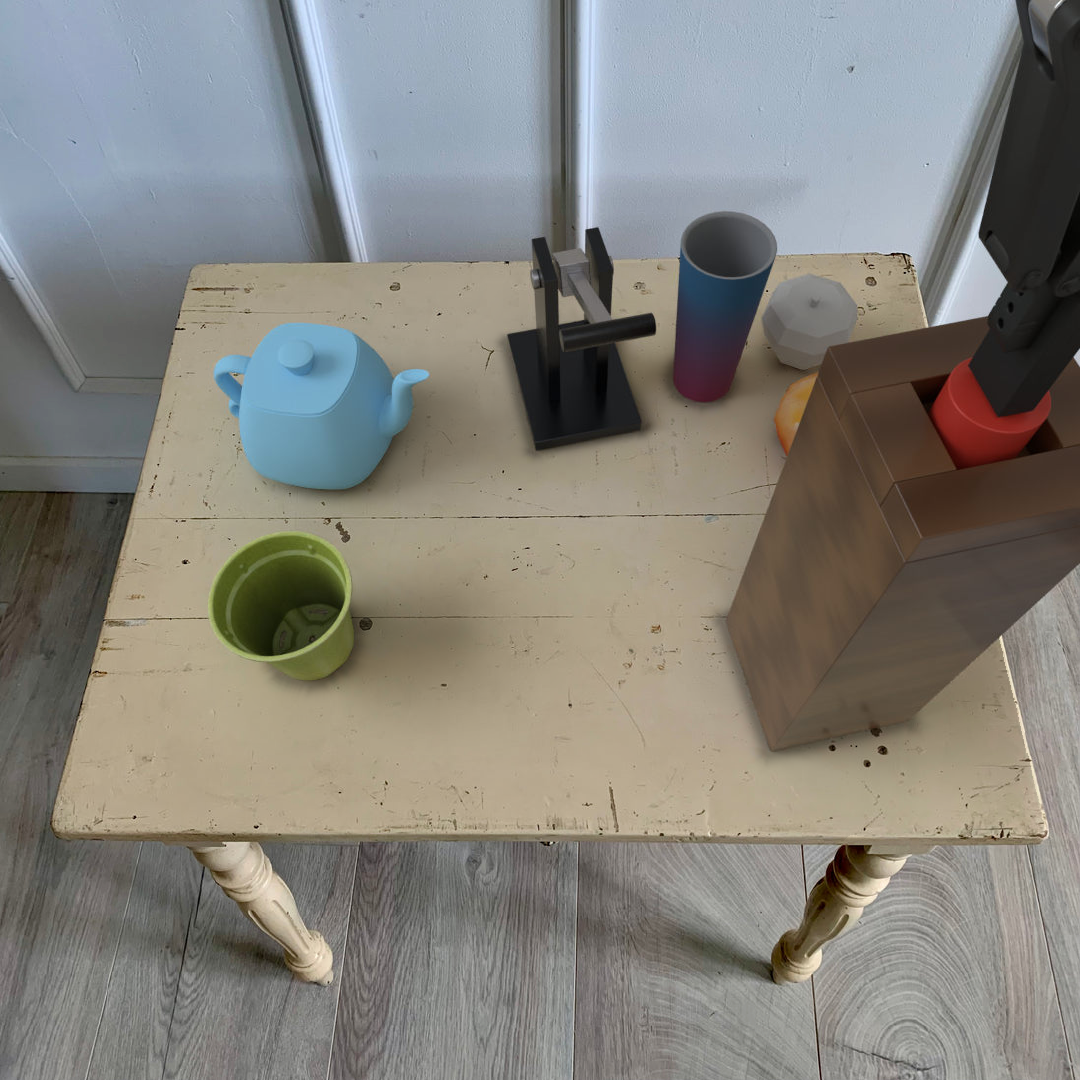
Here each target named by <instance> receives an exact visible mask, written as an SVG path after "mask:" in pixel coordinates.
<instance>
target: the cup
mask: <svg viewBox="0 0 1080 1080" xmlns="http://www.w3.org/2000/svg"><path fill="white" fill-rule="evenodd" d="M777 253H778V242H777V239H776V236H775V234H774V233H773V231H772V230H771V229H770V228H769V227H768V226H767V225H766V224H765V223H764V222H762V221H761V220H759V218H756V217H753V216H752V215H750V214H746V213H744V212H738V211H727V210H726V211H725V210H721V211H714V212H709V213H706V214H703V215H701V216H699V217H697V218H696V219H694V220H693V221H691V222H690V223H689V224H688V225H687V226H686V228H685V229H684V231H683V232H682V235H681V238H680V248H679V266H678V283H677V301H676V316H675V317H676V319H675V336H674V352H673V353H674V354H673V368H672V369H673V370H672V382H673V385H674V387H675V389H676V390H677V392H678V393H679V395H681V396H683V397H684V398H686V399H688V400H690V401H693V402H695V403H696V402H697V403H711V402H715V401H717V400H719V399H722V398H723V397H725V396H726V395H727V394H728V393H729V391H730V389H731V387H732V385H733V381H734V379H735V376H736V373H737V369H738V367H739V364H740V362H741V358H742V355H743V352H744V350H745V347H746V344H747V341H748V338H749V335H750V332H751V329H752V327H753V323H754V320H755V317H756V315H757V312H758V310H759V306H760V304H761V300H762V297H763V295H764V293H765V289H766V286H767V283H768V280H769V277H770V275H771V273H772V268H773V265H774V263H775V260H776V257H777Z"/></svg>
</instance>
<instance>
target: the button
mask: <svg viewBox="0 0 1080 1080" xmlns="http://www.w3.org/2000/svg"><path fill="white" fill-rule="evenodd" d="M972 358H973V357H972ZM972 358H969V359H967V360H965V361H963V362H961V363H960V364H959V365H957V366H956V367H955V368H954V369H953V371H952V372H951V374H950V376H949V377H948V379H947V381H946V383H945V384H944V386H943V388H942V390H941V391H940V393H939V395H938V397H937V398H936V400H935V402H934V403H933V405H932V407H931V409H930V410H929V412H928V416H929V418H930V420H931V422H932V424H933V426H934V427H935V429H936V431H937V433H938V435H939V437H940V439H941V441H942V442H943V444H944V446H945V448H946V450H947V452H948V454H949V456H950V457H951V459H952V461H953V463H954V465H955V467H956V470H960V469H965V468H970V467H975V466H980V465H985V464H990V463H995V462H1000V461H1004V460H1009V459H1014V458H1016V457H1017V456H1018V454H1019V453H1020V452H1021V451H1022V449H1023V448H1024V447H1025V445H1026V444H1027V443H1028V442H1029V440H1030V439H1031V438H1032V436H1033V435H1034V434H1035V433H1036V431H1037V430H1038V429H1039V427H1040V426H1041V425H1042V424H1043V422H1044V421H1045V420H1046V418H1047V416H1048V415H1049V412H1050V408H1051V397H1050V393H1049V390H1048V392H1047V393H1046V394H1045V396H1044V397H1043V398H1042V400H1041V401H1040V402H1039V404H1038V405H1037V406H1036V408H1035V409H1034V410H1033V411H1028V412H1023V413H1018V414H1013V415H1008V416H1003V417H997V415H996V413H995V412H994V410H993V408H992V406H991V405H990V403H989V401H988V399H987V398H986V396H985V394H984V392H983V391H982V389H981V387H980V386H979V384H978V382H977V380H976V379H975V377H974V375H973V373H972V372H971V370H970V368H969V366H968V364H969V363H970V361H971V359H972Z"/></svg>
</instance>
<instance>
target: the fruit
mask: <svg viewBox="0 0 1080 1080" xmlns="http://www.w3.org/2000/svg"><path fill="white" fill-rule="evenodd" d="M817 376H818V372H814V373H811V374H810V375H807V376H804V377H802V378H800V379H798V380H797V381H795V382H792V383H791V384H790V385H789V386H788V388H787V389H786V391H785V393H784V395H783V396H782V397H781V399H780V401H779V404H778V407H777V409H776V412H775V415H774V418H773V422H774V425H775V431H776V435H777V438H778V441H779V444H780V446H781V448H782V450H783V452H784V454H785V456H786V457H787V455H788V453H789V450H790V447H791V445H792V442H793V439H794V437H795V434H796V431H797V429H798V426H799V423H800V421H801V418H802V415H803V413H804V410H805V407H806V404H807V402H808V399H809V396H810V394H811V391H812V388H813V386H814V383H815V380H816V378H817Z"/></svg>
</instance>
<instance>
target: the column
mask: <svg viewBox="0 0 1080 1080" xmlns="http://www.w3.org/2000/svg"><path fill="white" fill-rule="evenodd" d="M987 323H988V315H986V316H980V317H976V318H970V319H965V320H958V321H954V322H949V323H944V324H943V323H942V324H939V325H933V326H928V327H923V328H917V329H913V330H907V331H902V332H897V333H892V334H885V335H881V336H876V337H875V336H874V337H870V338H865V339H860V340H855V341H849V342H848V343H844V344H839V345H833V346H829V347H828V348H827V351H826V354H825V356H824V359H823V362H822V364H820V367H819V370H818V372H817V373H818V376H817V378H816V380H815V383H814V386H813V388H812V391H811V394H810V396H809V399H808V402H807V404H806V407H805V410H804V413H803V415H802V418H801V421H800V423H799V426H798V429H797V431H796V434H795V437H794V439H793V442H792V445H791V447H790V450H789V453H788V455H787V456H786V458H785V460H784V464H783V466H782V469H781V472H780V475H779V477H778V480H777V482H776V484H775V487H774V491H773V493H772V496H771V499H770V501H769V504H768V507H767V508H766V512H765V514H764V517H763V520H762V522H761V526H760V528H759V531H758V533H757V536H756V539H755V542H754V544H753V546H752V549H751V551H750V554H749V557H748V560H747V563H746V565H745V568H744V571H743V574H742V576H741V578H740V581H739V584H738V587H737V589H736V592H735V594H734V597H733V600H732V603H731V606H730V608H729V610H728V614H727V616H726V618H725V623H726V626H727V629H728V632H729V635H730V638H731V640H732V643H733V646H734V650H735V652H736V655H737V657H738V661H739V664H740V667H741V670H742V672H743V675H744V678H745V681H746V684H747V687H748V690H749V693H750V696H751V699H752V701H753V705H754V707H755V710H756V714H757V717H758V719H759V722H760V724H761V728H762V731H763V734H764V736H765V739H766V742H767V745H768V748H769V750H770V751H769V752H776V751H780V750H786V749H790V748H793V747H799V746H802V745H807V744H812V743H816V742H820V741H825V740H829V739H834V738H837V737H842V736H847V735H852V734H856V733H861V732H865V731H869V730H874V729H877V728H882V727H887V726H891V725H896V724H900V723H905V722H909V721H910V720H911V719H912V718H913V717H914V716H916V715H917V714H918V713H919V712H920V711H921V710H922V709H923V708H924V707H925V706H927V705H928V704H929V703H930V702H931V701H932V700H933V699H934V698H935V697H936V696H937V695H938V694H940V693H941V692H942V691H943V690H944V689H945V688H946V687H947V686H948V685H950V683H952V682H953V681H954V680H955V679H956V678H957V677H959V675H960V674H961V673H962V672H964V671H965V670H966V669H967V668H968V667H969V666H970V665H971V664H972V663H974V661H975V660H977V659H978V658H979V657H980V656H982V654H983V653H985V652H986V651H987V650H988V649H989V648H990V647H991V646H992V645H993V644H994V643H995V642H996V641H997V640H998V639H1000V638H1001V637H1002V636H1003V635H1004V634H1005V633H1006V632H1007V631H1008V630H1009V629H1011V627H1013V626H1014V625H1015V624H1016V623H1017V622H1018V621H1019V620H1020V619H1021V618H1022V617H1023V616H1025V614H1027V613H1028V612H1029V611H1030V610H1031V609H1032V608H1033V607H1034V606H1035V605H1036V604H1038V603H1039V602H1040V601H1041V600H1042V599H1043V598H1044V597H1045V596H1046V595H1047V594H1048V593H1050V592H1051V591H1052V590H1054V588H1055V587H1056V586H1057V585H1058V584H1060V582H1061V581H1063V580H1064V579H1065V578H1066V577H1067V576H1068V575H1069V574H1070V573H1071V572H1072V571H1073V570H1074V569H1075V568H1077V567H1078V566H1079V565H1080V365H1079V363H1078V361H1077V360H1076V358H1075V356H1074V357H1073V358H1072V360H1071V361H1070V362H1069V364H1068V365H1067V366H1066V368H1065V369H1064V370H1063V372H1062V373H1061V374H1060V376H1059V377H1058V378H1057V380H1056V381H1055V382H1054V384H1053V385H1052V386H1051V388H1050V389H1049V393H1050V397H1051V408H1050V412H1049V415H1048V416H1047V418H1046V420H1045V421H1044V422H1043V424H1042V425H1041V426H1040V427H1039V429H1038V430H1037V431H1036V433H1035V434H1034V435H1033V436H1032V438H1031V439H1030V440H1029V442H1028V443H1027V444H1026V445H1025V447H1024V448H1023V449H1022V451H1021V452H1020V453H1019V454H1018V456H1017V457H1016V458H1014V459H1009V460H1004V461H1000V462H995V463H990V464H985V465H980V466H975V467H970V468H965V469H960V470H956V467H955V465H954V463H953V461H952V459H951V457H950V456H949V454H948V452H947V450H946V448H945V446H944V444H943V442H942V441H941V439H940V437H939V435H938V433H937V431H936V429H935V427H934V426H933V424H932V422H931V420H930V418H929V416H928V412H929V410H930V409H931V407H932V405H933V403H934V402H935V400H936V398H937V397H938V395H939V393H940V391H941V390H942V388H943V386H944V384H945V383H946V381H947V379H948V377H949V376H950V374H951V372H952V371H953V369H954V368H955V367H956V366H957V365H959V364H960V363H961V362H963V361H965V360H967V359H969V358H972V357H973V356H974V354H975V353H976V351H977V349H978V348H979V346H980V344H981V343H982V341H983V339H984V338H985V336H986V334H987V333H988V331H989V329H990V328H989V326H988V324H987Z"/></svg>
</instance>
